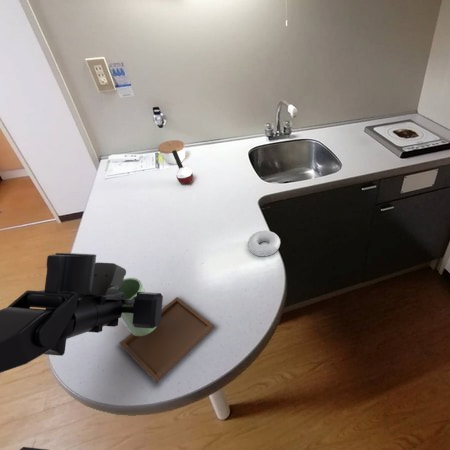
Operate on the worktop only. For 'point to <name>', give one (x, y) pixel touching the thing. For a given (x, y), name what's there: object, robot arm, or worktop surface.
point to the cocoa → (182, 171)
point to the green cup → (130, 290)
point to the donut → (263, 249)
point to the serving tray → (168, 339)
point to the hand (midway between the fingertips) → (137, 300)
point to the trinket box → (170, 146)
